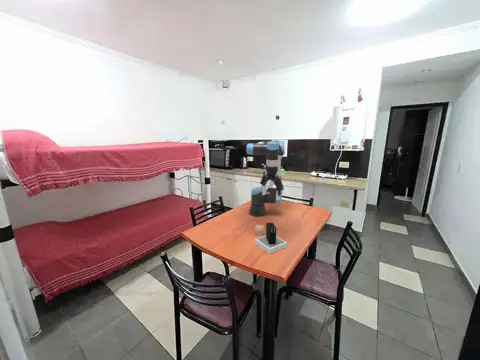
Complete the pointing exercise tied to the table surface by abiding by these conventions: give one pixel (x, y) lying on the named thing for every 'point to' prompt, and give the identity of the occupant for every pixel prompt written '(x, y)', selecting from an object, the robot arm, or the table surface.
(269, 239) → the electronic device
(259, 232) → the pale pink rounded piece
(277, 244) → the stand
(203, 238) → the table surface
